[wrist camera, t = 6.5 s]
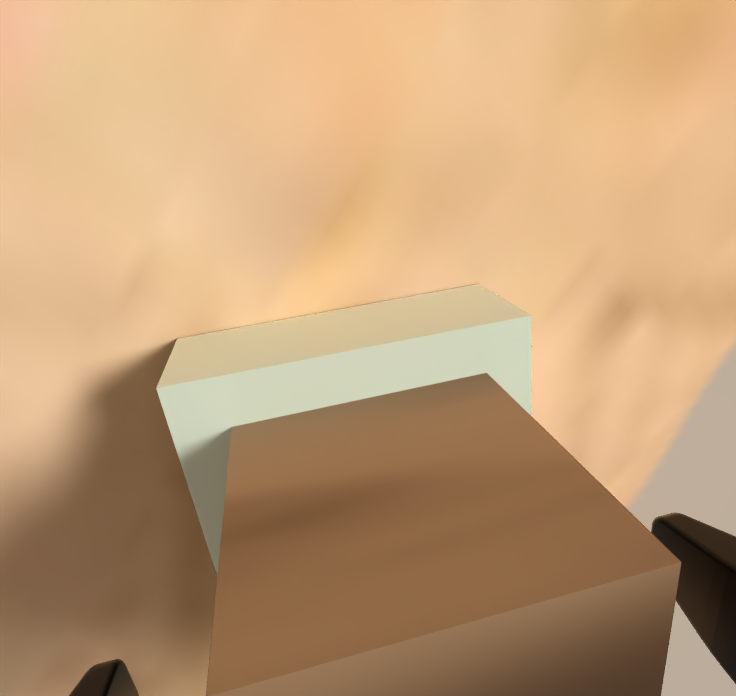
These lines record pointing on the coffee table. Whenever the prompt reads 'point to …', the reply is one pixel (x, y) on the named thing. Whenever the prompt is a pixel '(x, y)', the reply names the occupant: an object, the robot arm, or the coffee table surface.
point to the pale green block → (329, 372)
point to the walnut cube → (431, 558)
